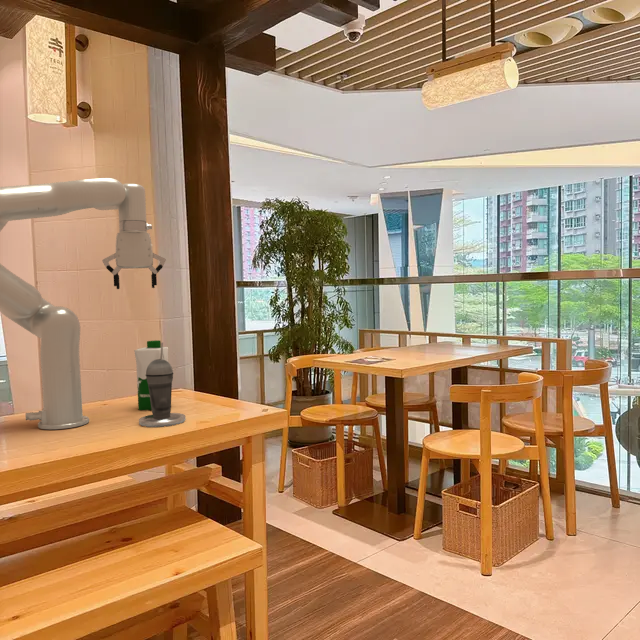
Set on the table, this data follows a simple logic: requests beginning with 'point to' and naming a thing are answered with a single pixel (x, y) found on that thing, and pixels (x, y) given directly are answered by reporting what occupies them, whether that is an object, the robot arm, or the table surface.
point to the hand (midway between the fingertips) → (135, 288)
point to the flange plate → (162, 420)
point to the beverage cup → (160, 387)
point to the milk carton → (142, 362)
